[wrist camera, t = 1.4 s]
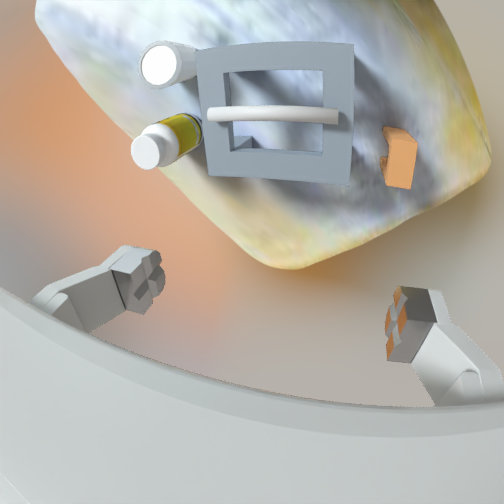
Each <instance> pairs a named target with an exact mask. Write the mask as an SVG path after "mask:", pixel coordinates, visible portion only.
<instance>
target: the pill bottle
mask: <svg viewBox="0 0 504 504" xmlns="http://www.w3.org/2000/svg"><path fill="white" fill-rule="evenodd" d="M202 139H203V126H202V124H201V122H200V121H199V119H198V118H197V117H196V116H194V115H192V114H189V113H180V114H177V115H174V116H172V117H169V118H167V119H164V120H162V121H159V122H157V123H154V124H152V125H150V126H148V127H147V128H146V129H145V130H144V131H143V132H142V134H141V135H140V136H138V137H137V138H136V139H135V140H134V141H133V143H132V146H131V154H132V158H133V160H134V161H135V163H136V164H137V165H138V166H139V167H141V168H143V169H146V170H151V169H153V168H155V167H165V166H168V165H170V164H172V163H173V162H175V161H176V160H178V159H179V158H181V157H182V156H184V155H185V154H187V153H189V152H190V151H192V150H193V149H195V148H196V147H197V146H199V144H200V143H201V141H202Z"/></svg>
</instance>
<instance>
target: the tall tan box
mask: <svg viewBox="0 0 504 504" xmlns="http://www.w3.org/2000/svg"><path fill="white" fill-rule="evenodd" d="M383 136H384V137H385V139H386V141H387V142H388V144H389V153H388V158H386V157H381V159H380V167H381V170H382V173H383V176H384V179H385V182H386V185H387V186H393V187H399V188H405V189H411V184H412V179H413V173H414V167H415V160H416V153H417V146H418V143H417V142H416V141H415V140H414V139H413V138H412V137H411V135H410V134H409V133H408V132H407V131H406V130H404V129H399V128H393V127H387V126H383Z"/></svg>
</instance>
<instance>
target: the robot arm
mask: <svg viewBox="0 0 504 504" xmlns="http://www.w3.org/2000/svg"><path fill="white" fill-rule="evenodd" d="M161 261H162V259H161V256H160V253H159V252H158V251H156V250H151V249H146V248H141V247H135V246H129V245H123V246H121V247H120V248H119V249H118V250H117V251H115V252H114V253H113V254H112V255H111V256H110V257H109V258H108V259H106V260H105V261H104V262H103V263H102V264H101V265H100V266H99V267H98V266H95V267H92V268H89V269H87V270H84V271H82V272H79V273H77V274H74V275H72V276H69V277H67V278H64V279H62V280H59V281H57V282H54V283H52V284H49V285H47V286H46V287H45V288H44V289H43V290H42V291H40V293H38V294H37V295H36V296H35V297H34V298H33V299H32V300H31V301H30V302H29V303H27V302H26V301H24V300H22V299H21V298H19V297H17V296H15V295H14V294H12V293H10V292H9V291H7V290H6V289H4V288H2V287H1V286H0V504H504V383H503V379H502V376H501V372H500V370H499V368H498V367H497V366H496V365H495V364H494V363H493V362H492V361H491V360H490V359H489V357H487V356H486V354H484V352H483V351H482V350H481V349H480V348H479V347H478V346H477V345H476V344H475V343H474V342H473V341H472V340H471V339H470V338H469V337H468V336H467V335H466V334H465V333H464V332H463V331H462V330H461V329H460V328H459V327H458V326H457V325H454V324H452V322H451V318H450V315H449V313H448V310H447V307H446V304H445V301H444V298H443V295H442V293H441V291H440V290H438V289H427V288H426V289H422V288H414V287H405V286H397V288H396V290H395V292H394V295H393V297H394V303H393V304H392V305H390V307H389V309H388V312H387V315H386V321H385V334H386V336H387V337H388V338H389V339H388V342H387V344H386V349H387V350H386V351H387V361H393V362H402V363H411V366H412V367H413V369H414V371H415V372H416V374H417V375H418V377H419V378H420V380H421V382H422V383H423V385H424V387H425V388H426V390H427V392H428V393H429V395H430V396H431V398H432V400H433V401H434V403H435V406H434V407H397V406H395V407H394V406H377V405H362V404H351V403H341V402H333V401H325V400H317V399H311V398H303V397H297V396H292V395H286V394H280V393H275V392H270V391H265V390H260V389H256V388H251V387H247V386H242V385H238V384H234V383H230V382H226V381H222V380H218V379H214V378H211V377H207V376H204V375H200V374H197V373H193V372H190V371H187V370H183V369H180V368H177V367H174V366H171V365H168V364H165V363H162V362H159V361H156V360H153V359H151V358H148V357H145V356H142V355H140V354H137V353H134V352H132V351H129V350H126V349H123V348H121V347H119V346H116V345H114V344H111V343H109V342H107V341H104V340H102V339H100V338H97V337H95V336H93V335H91V334H88V333H90V332H91V331H93V330H95V329H96V328H98V327H100V326H101V325H103V324H105V323H106V322H108V321H110V320H111V319H113V318H114V317H116V316H118V315H120V314H121V313H123V312H124V311H126V310H128V311H132V312H136V313H140V314H145V312H146V311H147V310H148V309H149V307H150V306H151V304H153V298H154V297H156V296H158V295H159V294H160V293H161V292H162V290H163V288H164V285H165V273H164V270H163V269H162V268H161V267H160V263H161Z"/></svg>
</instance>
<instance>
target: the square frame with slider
mask: <svg viewBox="0 0 504 504" xmlns="http://www.w3.org/2000/svg"><path fill="white" fill-rule="evenodd" d="M195 60H196V70H197V80H198V90H199V100H200V109H201V118H202V126H203V135H204V143H205V151H206V159H207V167H208V174H209V176H229V177H250V178H266V179H280V180H293V181H304V182H315V183H324V184H334V185H342V186H349V181H350V169H351V156H352V141H353V120H354V44H346V43H332V42H265V43H251V44H240V45H231V46H223V47H216V48H209V49H203V50H197V51H195ZM257 70H320V71H323V107H310V106H281V105H256V106H231V98H230V85H229V73H228V72H240V71H257ZM232 121H292V122H311V123H323V149H322V152H310V151H297V150H279V149H253V144H252V136H235V137H234V133H233V122H232Z"/></svg>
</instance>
